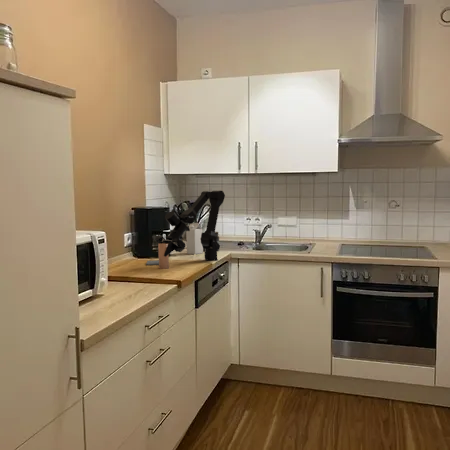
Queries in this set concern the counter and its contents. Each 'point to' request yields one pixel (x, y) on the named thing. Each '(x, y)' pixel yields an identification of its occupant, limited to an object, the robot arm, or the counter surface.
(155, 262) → the gray panel
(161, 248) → the brown rounded tapered cylinder
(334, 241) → the counter surface
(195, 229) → the milk carton
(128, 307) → the counter surface
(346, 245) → the counter surface
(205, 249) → the supplement container
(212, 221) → the robot arm
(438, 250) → the counter surface
